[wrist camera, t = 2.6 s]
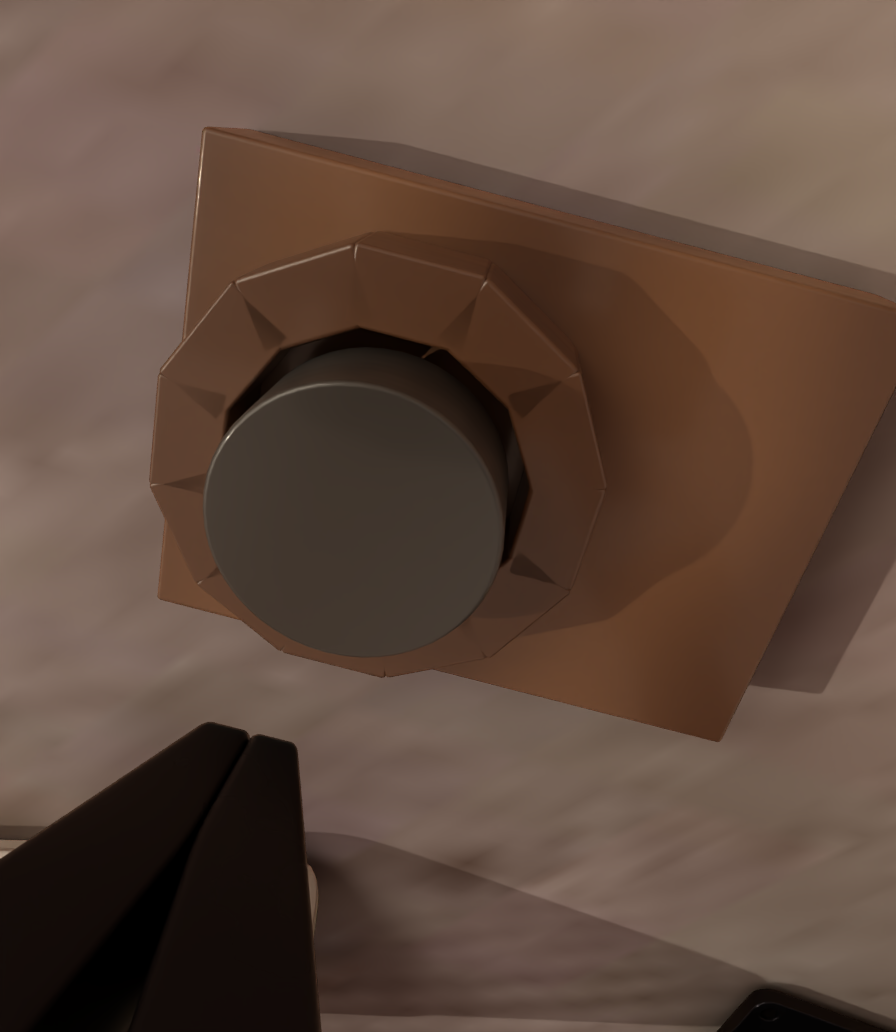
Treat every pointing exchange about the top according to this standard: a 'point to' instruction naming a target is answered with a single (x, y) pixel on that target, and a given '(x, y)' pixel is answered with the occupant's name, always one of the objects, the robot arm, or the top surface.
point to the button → (360, 503)
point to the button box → (541, 414)
